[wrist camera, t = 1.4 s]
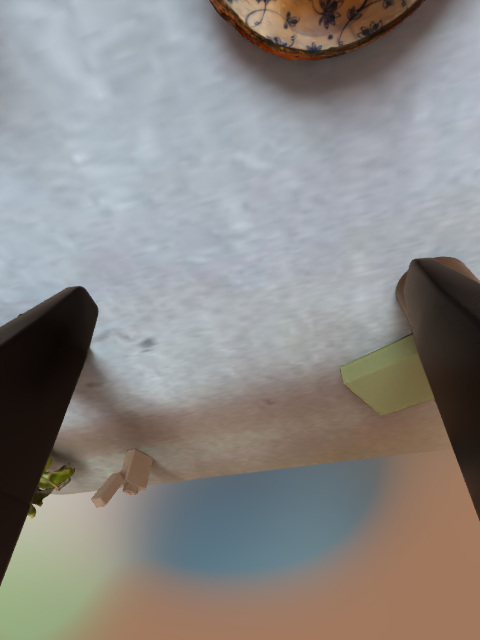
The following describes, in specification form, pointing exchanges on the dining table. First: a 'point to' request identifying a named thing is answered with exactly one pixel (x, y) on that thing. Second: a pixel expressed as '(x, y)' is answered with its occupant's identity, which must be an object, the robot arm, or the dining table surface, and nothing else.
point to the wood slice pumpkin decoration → (313, 24)
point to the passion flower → (50, 484)
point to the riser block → (389, 377)
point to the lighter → (126, 477)
